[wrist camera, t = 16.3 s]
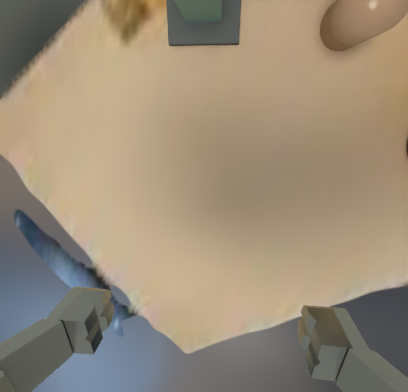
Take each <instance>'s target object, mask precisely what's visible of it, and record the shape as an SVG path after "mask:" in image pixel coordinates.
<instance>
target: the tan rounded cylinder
mask: <svg viewBox="0 0 408 392" xmlns="http://www.w3.org/2000/svg"><path fill="white" fill-rule="evenodd" d="M407 12H408V0H336V1H335V2H334V3H333V4H332V5H331V6H330V7H329V8H328V10H327V11H326V13H325V14H324V16H323V19H322V22H321V26H320V35H321V39H322V41H323V43H324V44H325V46H326V47H328V48H329V49H331V50H334V51H342V50H346V49H348V48H350V47H353V46H355V45H357V44H359V43H361V42H363V41H366V40H368V39H370V38H372V37H374V36H376V35H379V34H381V33H383V32H385V31H387V30H389V29H391V28H392V27H394V26H395V25H396V24H398V23H399V22H400V21H401V20H402V18H403V17H404V16H405V15H406V13H407Z"/></svg>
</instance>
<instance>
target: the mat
mask: <svg viewBox="0 0 408 392" xmlns="http://www.w3.org/2000/svg"><path fill="white" fill-rule="evenodd" d="M240 7H241V0H222V22H202V23H185V21H184V19H183V17H182V15H181V13H180V11H179V9H178V7H177V5H176V3H175V1H174V0H167V18H168V38H169V45H170V46H184V45H234V44H238V43H239V26H240Z"/></svg>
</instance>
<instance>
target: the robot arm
mask: <svg viewBox="0 0 408 392" xmlns="http://www.w3.org/2000/svg"><path fill="white" fill-rule="evenodd" d="M110 298H111V292H110V290H105V289H96V288H87V287H86V288H85V287H74V288H72V289H71V290H70V291H69V292H68V294H67V295H66V296H65V297H64V298H63V299H62V301H61V302H60V303H59V304H58V305H57V307H56V308H55V309H54V310H53V311H52V312H51V314H50V315H49V316H48V317H47V318H46V319H41V320H40V321H38V322H36V323H35V324H33V325H31V326H30V327H28V328H26V329H24V330H23V331H21V332H19V333H18V334H16V335H14V336H12V337H11V338H9V339H7V340H6V341H4V342H2V343H1V344H0V392H31V391H32V390H34V389H35V388H36V387H37V386H38V385H39V384H40V383H41V382H43V381H44V380H45V379H46V378H47V377H48V376H49V375H50V374H52V373H53V372H54V371H55V370H56V369H57V368H58V367H59V366H61V365H62V364H63V363H64V362H65V361H66V360H67V359H69V358H70V357H71V356H72V355H73V353H83V354H94V353H95V351H96V349H97V348H98V346H99V344H100V342H101V340H102V338H103V336H102V332H103V331H104V330H106V329H107V328H108V327H109V325H110V323H111V321H112V318H113V314H114V306H113V303H112V302H111V301H110ZM301 313H302V316H303V317H302V318H301V319H300V320H299V323H298V335H299V340H300V343H301V346H302V347H303V348H304V349H305V350H306V352H307V353H306V357H305V360H306V363H307V366H308V369H309V372H310V376H311V378H315V379H322V380H329V381H336V384H337V385H338V386H339V387H340V389H341V390H342V391H343V392H408V378H407V377H405V376H404V375H403V374H402V373H401V372H399V371H398V370H397V369H396V368H394V367H393V366H392V365H391V364H390V363H388V362H387V361H386V360H385V359H384V358H382V357H381V356H380V355H379V354H378V353H376V352H375V351H371V350H369V348H368V346H367V345H366V343H365V341H364V340H363V338H362V336H361V334H360V333H359V331H358V330H357V328H356V326H355V324H354V323H353V321H352V319H351V317H350V316H349V314H348V312H347V311H346V310H345V309H344V308H332V307H330V308H329V307H321V306H306V305H304V306H303V307H302V310H301Z"/></svg>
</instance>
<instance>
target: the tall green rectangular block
mask: <svg viewBox="0 0 408 392" xmlns="http://www.w3.org/2000/svg"><path fill="white" fill-rule="evenodd" d="M174 1H175V3H176V5H177V7H178V9H179V11H180V13H181V15H182V17H183V19H184V21H185V23H202V22H222V0H174Z"/></svg>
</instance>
